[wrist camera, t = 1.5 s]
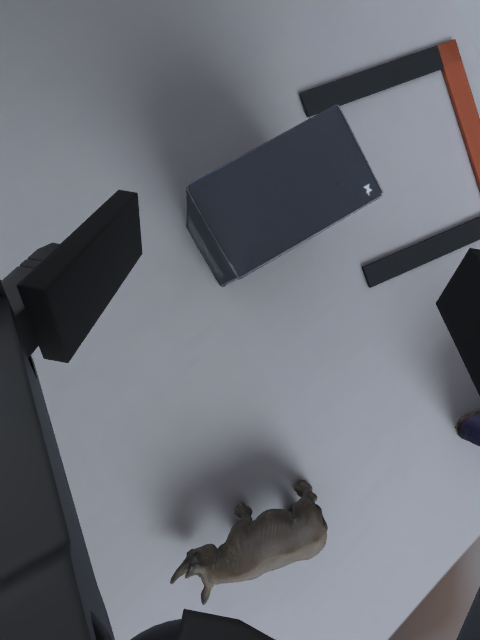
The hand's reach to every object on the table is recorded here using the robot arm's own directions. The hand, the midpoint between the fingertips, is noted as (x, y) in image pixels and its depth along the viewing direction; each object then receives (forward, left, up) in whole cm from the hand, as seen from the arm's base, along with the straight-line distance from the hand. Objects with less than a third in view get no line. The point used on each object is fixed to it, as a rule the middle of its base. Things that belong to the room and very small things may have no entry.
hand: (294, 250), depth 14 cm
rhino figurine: (+21, -8, -16) cm, 28 cm away
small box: (-3, +3, -16) cm, 17 cm away
